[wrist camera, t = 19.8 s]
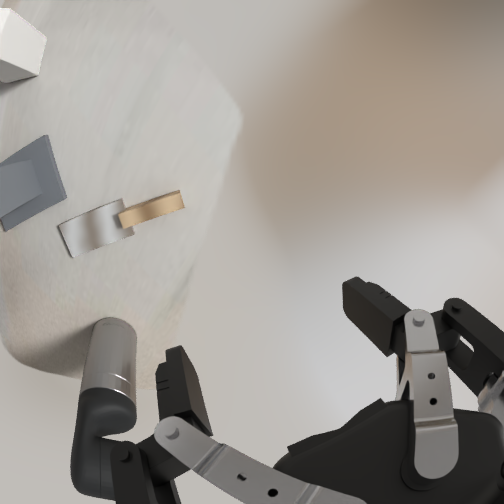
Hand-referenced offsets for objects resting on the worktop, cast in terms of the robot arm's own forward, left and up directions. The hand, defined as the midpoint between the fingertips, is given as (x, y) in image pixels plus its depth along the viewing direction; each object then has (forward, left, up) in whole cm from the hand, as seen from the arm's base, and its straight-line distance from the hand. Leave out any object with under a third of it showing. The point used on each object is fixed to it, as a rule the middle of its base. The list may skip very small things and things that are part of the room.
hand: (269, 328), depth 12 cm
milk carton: (+18, +35, -34) cm, 52 cm away
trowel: (-6, +11, -34) cm, 36 cm away
